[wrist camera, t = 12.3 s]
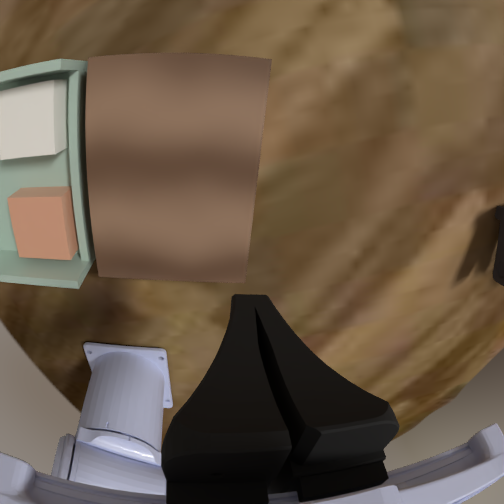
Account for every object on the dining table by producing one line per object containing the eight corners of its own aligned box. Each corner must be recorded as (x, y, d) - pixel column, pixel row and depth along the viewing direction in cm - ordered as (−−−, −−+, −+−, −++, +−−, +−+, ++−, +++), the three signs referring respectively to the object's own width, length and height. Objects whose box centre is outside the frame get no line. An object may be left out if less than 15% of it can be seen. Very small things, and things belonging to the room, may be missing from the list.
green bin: (96, 257, 22) (79, 288, 18) (-11, 251, 20) (-35, 277, 17) (88, 61, 15) (61, 58, 12) (-32, 87, 14) (-65, 94, 10)
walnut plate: (242, 263, 24) (245, 283, 21) (108, 257, 22) (98, 276, 20) (264, 62, 17) (271, 59, 15) (102, 60, 15) (88, 57, 13)
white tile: (68, 147, 17) (55, 154, 15) (15, 152, 17) (0, 160, 15) (67, 79, 15) (53, 79, 13) (13, 89, 14) (-3, 92, 13)
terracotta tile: (80, 245, 21) (70, 260, 19) (31, 243, 20) (19, 257, 18) (73, 186, 18) (61, 196, 17) (21, 187, 18) (7, 198, 16)
